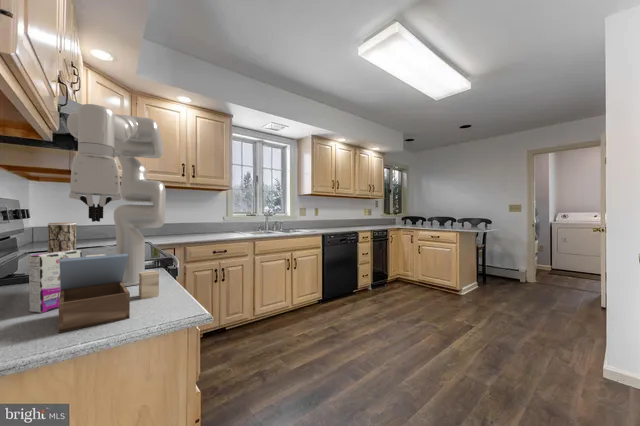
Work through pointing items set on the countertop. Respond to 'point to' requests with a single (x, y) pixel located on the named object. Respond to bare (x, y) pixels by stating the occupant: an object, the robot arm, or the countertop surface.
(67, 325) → the walnut box
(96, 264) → the box lid
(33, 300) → the candy bar box
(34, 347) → the countertop surface
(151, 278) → the birch block
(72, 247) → the bark log
